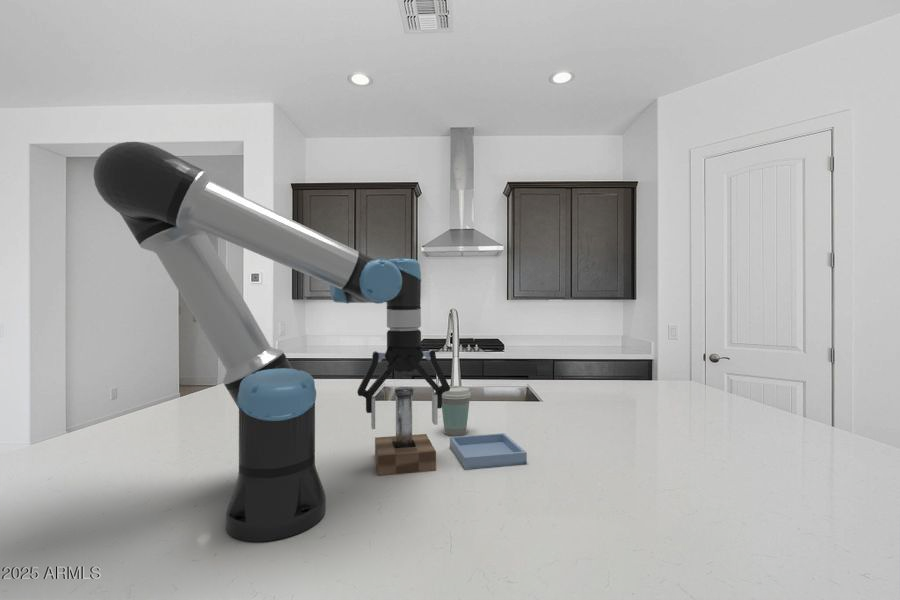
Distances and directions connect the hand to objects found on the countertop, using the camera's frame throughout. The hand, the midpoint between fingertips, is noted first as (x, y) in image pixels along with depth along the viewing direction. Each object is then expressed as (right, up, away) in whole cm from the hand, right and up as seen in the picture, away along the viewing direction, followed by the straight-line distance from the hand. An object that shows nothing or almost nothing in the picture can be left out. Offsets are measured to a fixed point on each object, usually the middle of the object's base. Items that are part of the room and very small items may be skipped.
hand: (404, 425), depth 93 cm
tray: (+18, -8, +4) cm, 21 cm away
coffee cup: (+11, -9, +21) cm, 25 cm away
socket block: (0, -8, 0) cm, 8 cm away
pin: (0, -8, 0) cm, 8 cm away
